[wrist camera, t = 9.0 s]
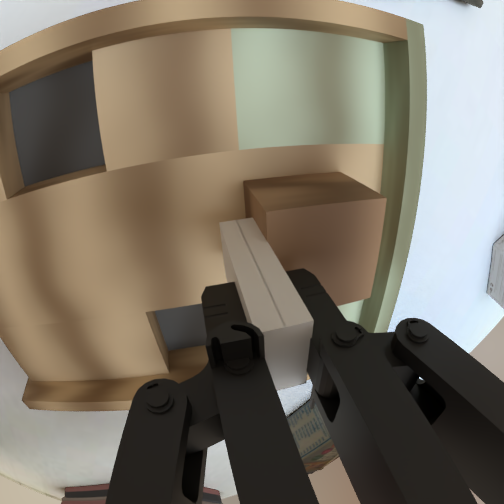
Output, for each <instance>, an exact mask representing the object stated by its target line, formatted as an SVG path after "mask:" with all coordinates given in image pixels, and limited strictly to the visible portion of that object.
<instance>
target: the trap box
mask: <svg viewBox="0 0 504 504" xmlns="http://www.w3.org/2000/svg"><path fill="white" fill-rule="evenodd" d="M426 110H427V74H426V52H425V38H424V28H423V25H422V24H420V23H417V22H414V21H412V20H409V19H406V18H403V17H400V16H397V15H394V14H391V13H387V12H384V11H380V10H377V9H373V8H369V7H366V6H362V5H357V4H353V3H349V2H344V1H339V0H139V1H134V2H129V3H125V4H121V5H116V6H113V7H109V8H105V9H101V10H98V11H94V12H91V13H88V14H85V15H82V16H78V17H76V18H73V19H70V20H67V21H64V22H62V23H59V24H56V25H54V26H51V27H49V28H46V29H44V30H42V31H39V32H37V33H35V34H33V35H30V36H28V37H26V38H24V39H22V40H20V41H18V42H16V43H14V44H12V45H10V46H8V47H6V48H4V49H3V50H1V51H0V338H1V339H2V341H3V342H4V344H5V345H6V347H7V348H8V350H9V351H10V352H11V354H12V355H13V357H14V358H15V359H16V361H17V362H18V364H19V365H20V366H21V368H22V369H23V370H24V372H25V373H26V374H27V375H28V381H27V384H26V387H25V391H24V394H23V397H22V401H23V402H24V403H25V404H26V405H27V406H28V408H29V409H38V410H55V411H117V410H130V407H131V403H132V400H133V397H134V395H135V393H136V392H137V390H138V389H139V388H140V387H141V386H142V385H143V384H145V383H146V382H149V381H151V380H154V379H162V378H166V379H170V380H174V381H176V382H177V383H178V384H179V383H181V382H183V381H185V380H188V379H190V378H192V377H194V376H195V375H197V374H199V373H200V372H201V371H202V370H203V369H204V368H205V366H206V365H207V363H208V360H209V359H208V355H207V351H206V347H205V345H206V338H207V334H206V328H205V321H204V314H203V308H202V301H201V296H202V293H203V291H204V289H205V287H206V286H212V285H218V284H224V283H227V279H226V274H225V266H224V258H223V250H222V242H221V233H220V225H219V222H225V221H232V220H239V219H246V215H245V201H244V187H243V181H245V180H253V179H262V178H272V177H281V176H292V175H303V174H316V173H329V172H342V173H344V174H345V175H347V176H349V177H351V178H353V179H355V180H356V181H358V182H360V183H362V184H364V185H365V186H367V187H369V188H371V189H372V190H374V191H376V192H378V193H379V194H381V195H383V196H384V197H386V198H387V200H386V208H385V216H384V223H383V230H382V237H381V243H380V249H379V255H378V261H377V266H376V271H375V276H374V281H373V286H372V291H371V296H370V298H367V299H363V300H360V301H356V302H352V303H348V304H344V305H341V306H337V307H338V309H339V310H340V312H341V313H342V314H343V316H344V317H345V319H346V320H347V321H352V322H355V323H357V324H359V325H361V326H362V327H363V328H364V329H365V330H366V331H367V332H370V333H383V332H387V330H388V327H389V324H390V321H391V317H392V314H393V311H394V307H395V304H396V300H397V297H398V293H399V290H400V286H401V282H402V278H403V274H404V270H405V266H406V262H407V258H408V253H409V249H410V244H411V239H412V234H413V229H414V223H415V218H416V212H417V206H418V199H419V192H420V185H421V177H422V168H423V159H424V147H425V133H426ZM309 379H310V377H309V375H308V373H307V380H309Z"/></svg>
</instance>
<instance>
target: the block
mask: <svg viewBox="0 0 504 504" xmlns="http://www.w3.org/2000/svg"><path fill="white" fill-rule="evenodd" d="M243 187H244V201H245V215H246V218H253V219H254V220H255V222H256V224H257V225H258V227H259V229H260V231H261V232H262V234H263V236H264V237H265V239H266V241H267V242H268V243H269V245H270V246H271V248H272V250H273V252H274V253H275V255H276V257H277V258H278V260H279V262H280V263H281V265H282V267H283V268H284V270H285V271H291V270H296V269H302V268H304V269H306V270H308V271H309V272H311V273H312V274H314V275H315V276H316V278H317V279H318V280H319V282H320V283H321V286H323V287H324V289H325V290H326V293H328V294H329V296H330V297H331V299H332V300H333V302H334V303H335V304H336V306H341V305H344V304H348V303H352V302H356V301H360V300H363V299H367V298H370V296H371V291H372V286H373V281H374V276H375V271H376V266H377V261H378V255H379V249H380V243H381V237H382V230H383V223H384V216H385V208H386V200H387V198H386V197H384V196H383V195H381V194H379V193H378V192H376V191H374V190H372V189H371V188H369V187H367V186H365V185H364V184H362V183H360V182H358V181H356V180H355V179H353V178H351V177H349V176H347V175H345V174H344V173H342V172H329V173H316V174H303V175H292V176H281V177H272V178H262V179H253V180H245V181H243Z"/></svg>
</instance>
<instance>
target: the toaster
mask: <svg viewBox="0 0 504 504" xmlns="http://www.w3.org/2000/svg"><path fill="white" fill-rule="evenodd" d="M108 489H109V484H101V485H92V486H80V487H67V488H65V497H63V498H62V503H61V504H105V502H106V498H107V493H108ZM202 504H223V503H222V502H221V497H220V493H219V491H218V490H215V489H210V488H206V487H203V498H202Z"/></svg>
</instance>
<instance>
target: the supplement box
mask: <svg viewBox="0 0 504 504" xmlns="http://www.w3.org/2000/svg"><path fill="white" fill-rule="evenodd" d="M487 294H488V295H489V296H491V297H492V298H493V299H494V300H495V301H496V302H497V303H498V304H499V305H500V306H501V307H502V308H503V309H504V235H503V236H502V237H501V238H500V239H499V240H498V241H497V242H495V243H494V244H493V252H492V261H491V269H490V276H489V283H488V289H487Z"/></svg>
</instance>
